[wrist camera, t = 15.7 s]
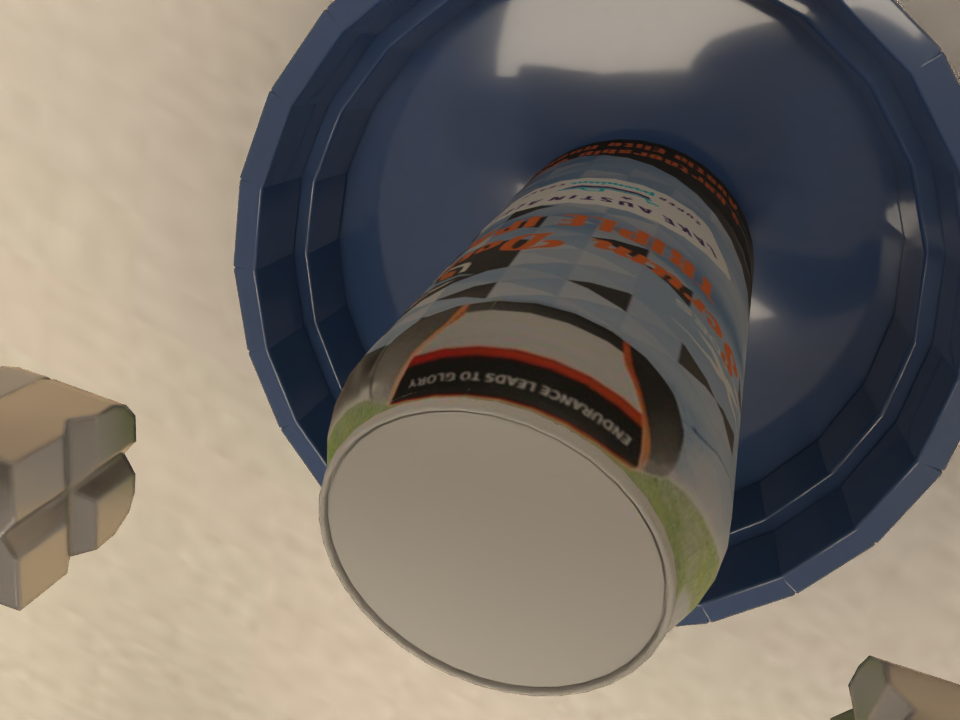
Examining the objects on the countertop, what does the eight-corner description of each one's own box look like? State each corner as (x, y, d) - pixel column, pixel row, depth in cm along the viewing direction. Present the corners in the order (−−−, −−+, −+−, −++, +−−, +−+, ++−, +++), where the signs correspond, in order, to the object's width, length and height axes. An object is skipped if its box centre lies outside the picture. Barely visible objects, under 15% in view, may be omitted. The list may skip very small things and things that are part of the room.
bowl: (358, -135, 19) (265, -187, 15) (1074, 2, 17) (1194, -16, 12) (292, 438, 26) (214, 510, 22) (798, 602, 23) (818, 719, 19)
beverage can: (792, 177, 19) (913, 349, 8) (679, 439, 22) (653, 828, 11) (538, 98, 19) (329, 156, 9) (464, 361, 22) (240, 649, 12)
